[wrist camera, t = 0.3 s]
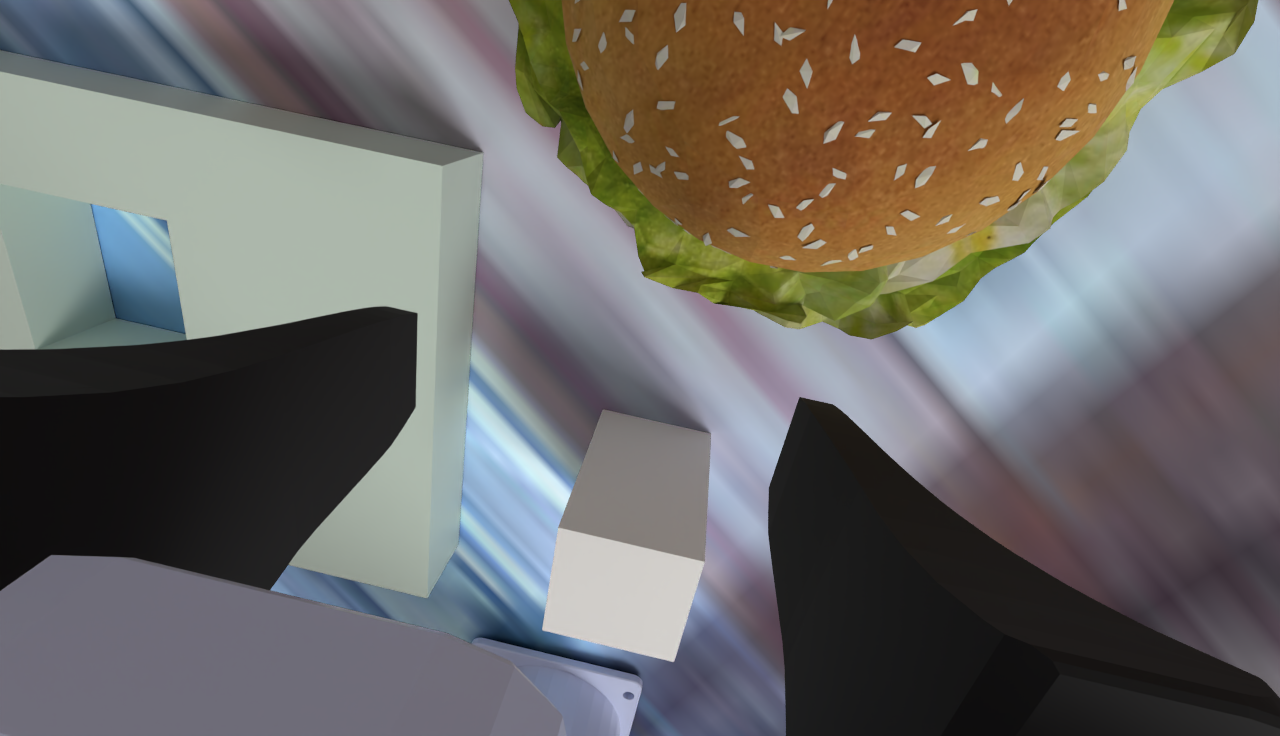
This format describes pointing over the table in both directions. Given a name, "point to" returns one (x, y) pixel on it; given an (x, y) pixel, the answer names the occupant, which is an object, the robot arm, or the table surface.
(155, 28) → the table surface
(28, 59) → the pale green square slab
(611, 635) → the block
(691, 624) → the table surface
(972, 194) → the food
